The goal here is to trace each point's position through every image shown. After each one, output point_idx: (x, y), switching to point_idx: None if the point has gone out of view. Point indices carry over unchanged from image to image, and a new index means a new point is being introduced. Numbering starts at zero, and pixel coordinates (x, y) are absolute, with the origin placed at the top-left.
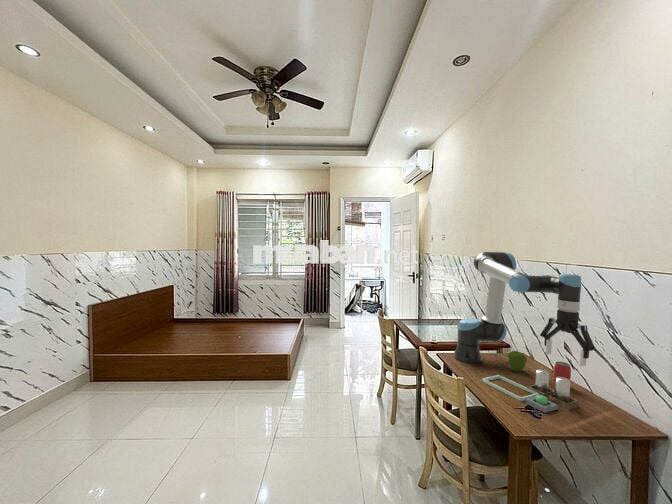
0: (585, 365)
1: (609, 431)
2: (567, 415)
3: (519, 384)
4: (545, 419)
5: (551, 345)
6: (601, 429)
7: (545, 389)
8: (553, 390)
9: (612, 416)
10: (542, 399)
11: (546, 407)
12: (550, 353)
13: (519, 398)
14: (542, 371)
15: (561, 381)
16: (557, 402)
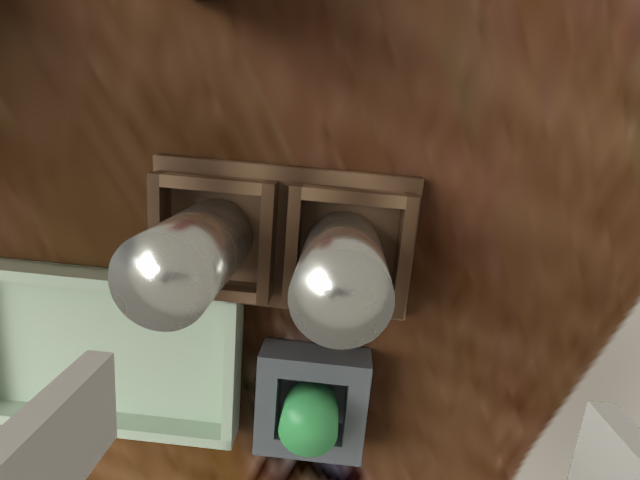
0: (613, 410)
1: (598, 314)
2: (415, 336)
3: (101, 285)
4: (377, 467)
5: (17, 456)
6: (567, 329)
7: (240, 263)
8: (258, 188)
9: (566, 102)
10: (324, 452)
11: (358, 452)
12: (111, 372)
13: (220, 444)
14: (158, 283)
15: (350, 346)
16: None
